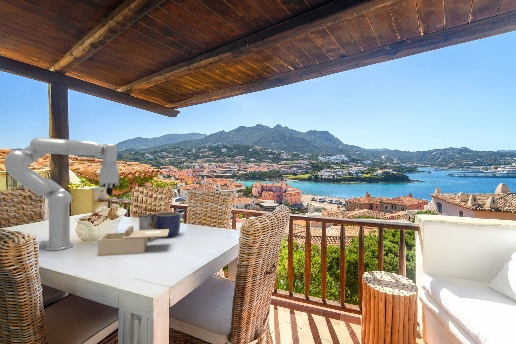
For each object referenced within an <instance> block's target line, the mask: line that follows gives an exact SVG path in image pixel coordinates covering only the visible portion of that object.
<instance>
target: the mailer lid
mask: <svg viewBox="0 0 516 344" xmlns="http://www.w3.org/2000/svg"><path fill="white" fill-rule="evenodd" d="M168 232H169V229H160V230H139V229H137V230H134V226H133V225H129V226H128V227H127V228H126V229H125V231H124V233H125V236H124V237H123V239H126V238H147V237H156V238H168V237H167V236H168Z"/></svg>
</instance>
